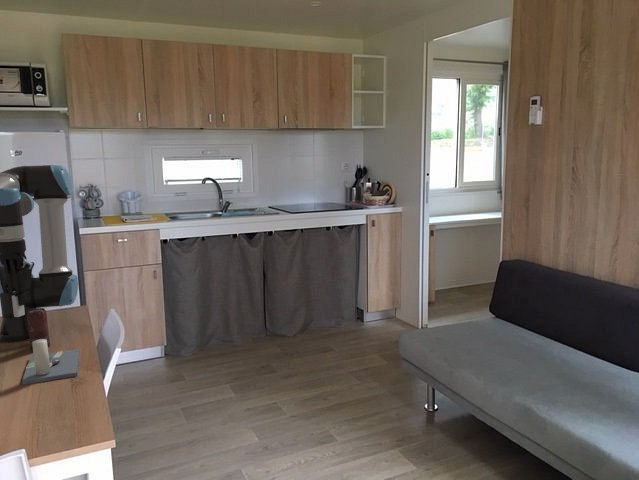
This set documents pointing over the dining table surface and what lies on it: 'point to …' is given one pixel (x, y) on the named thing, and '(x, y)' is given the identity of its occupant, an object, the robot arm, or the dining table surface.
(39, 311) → the can
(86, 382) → the dining table surface
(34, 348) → the needle
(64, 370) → the dial plate
